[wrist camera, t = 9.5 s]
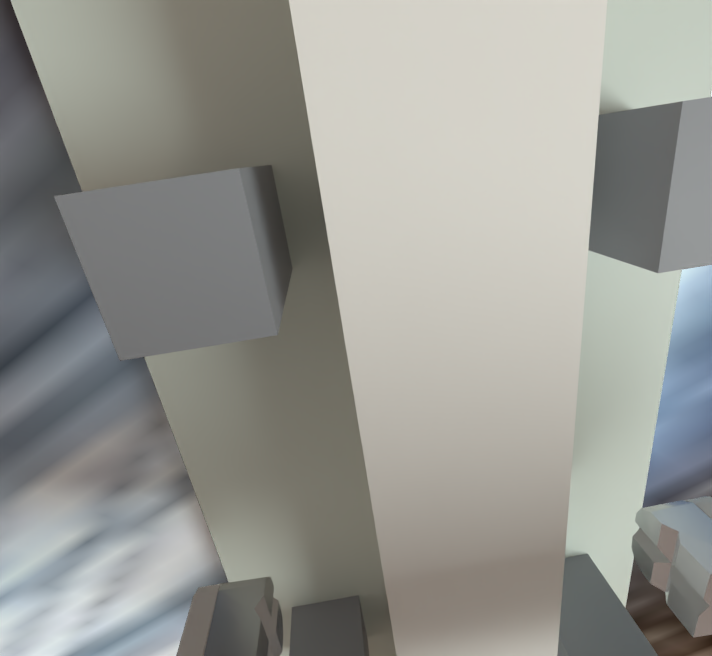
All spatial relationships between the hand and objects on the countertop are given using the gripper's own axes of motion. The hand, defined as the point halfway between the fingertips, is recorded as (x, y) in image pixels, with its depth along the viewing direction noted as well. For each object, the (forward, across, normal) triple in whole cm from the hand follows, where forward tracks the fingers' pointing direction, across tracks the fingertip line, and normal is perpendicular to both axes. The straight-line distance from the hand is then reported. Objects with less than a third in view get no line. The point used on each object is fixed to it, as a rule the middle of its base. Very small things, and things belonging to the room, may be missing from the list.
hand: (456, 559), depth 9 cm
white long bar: (+2, 0, +1) cm, 2 cm away
